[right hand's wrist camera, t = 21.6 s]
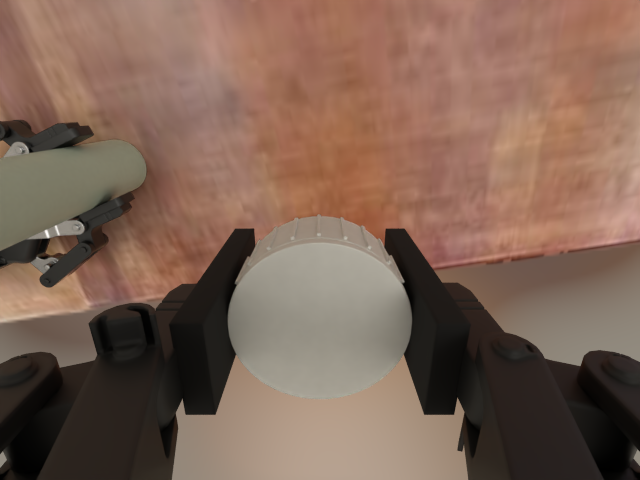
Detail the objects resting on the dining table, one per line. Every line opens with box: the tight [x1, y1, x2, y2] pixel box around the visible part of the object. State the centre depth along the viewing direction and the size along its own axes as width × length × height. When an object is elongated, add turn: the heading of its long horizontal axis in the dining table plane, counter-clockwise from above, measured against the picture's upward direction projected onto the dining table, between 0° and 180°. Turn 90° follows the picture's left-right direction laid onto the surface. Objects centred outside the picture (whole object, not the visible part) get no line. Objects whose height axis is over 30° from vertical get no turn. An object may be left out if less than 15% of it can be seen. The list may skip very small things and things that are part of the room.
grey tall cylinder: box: [0, 139, 147, 251], centre depth 23 cm, size 5×5×20 cm
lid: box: [228, 215, 412, 399], centre depth 11 cm, size 6×6×2 cm
